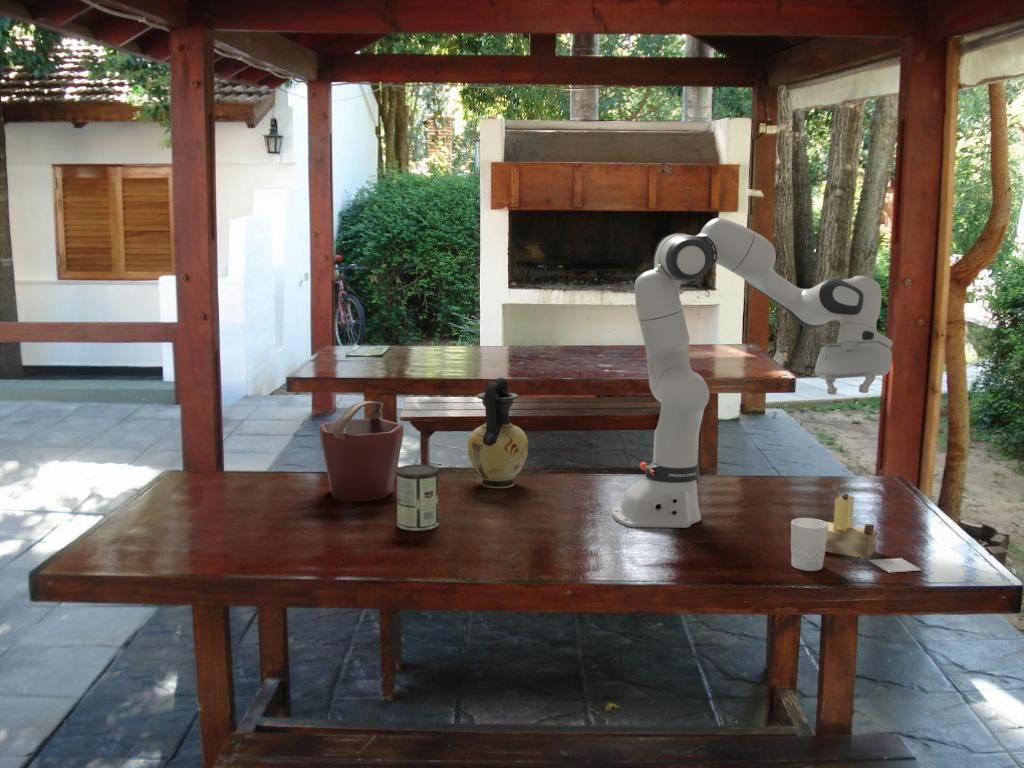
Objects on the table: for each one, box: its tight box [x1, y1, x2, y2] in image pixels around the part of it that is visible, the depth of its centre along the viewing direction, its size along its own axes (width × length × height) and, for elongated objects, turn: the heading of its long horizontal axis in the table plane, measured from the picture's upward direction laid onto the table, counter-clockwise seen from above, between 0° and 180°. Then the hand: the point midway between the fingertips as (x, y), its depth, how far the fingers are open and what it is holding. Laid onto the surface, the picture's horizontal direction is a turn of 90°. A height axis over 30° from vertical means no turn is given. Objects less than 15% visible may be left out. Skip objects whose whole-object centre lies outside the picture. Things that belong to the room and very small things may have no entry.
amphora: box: [467, 377, 529, 489], centre depth 301 cm, size 18×17×30 cm
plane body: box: [825, 521, 878, 560], centre depth 250 cm, size 14×7×7 cm, turn 57°
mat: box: [868, 557, 922, 574], centre depth 239 cm, size 8×8×1 cm
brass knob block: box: [833, 493, 855, 532], centre depth 249 cm, size 3×4×8 cm, turn 147°
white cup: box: [790, 517, 828, 572], centre depth 238 cm, size 8×8×10 cm
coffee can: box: [396, 464, 439, 532], centre depth 264 cm, size 10×10×14 cm
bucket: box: [318, 400, 404, 503], centre depth 290 cm, size 24×22×25 cm
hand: (847, 393), depth 264 cm, fingers open, 8 cm apart
